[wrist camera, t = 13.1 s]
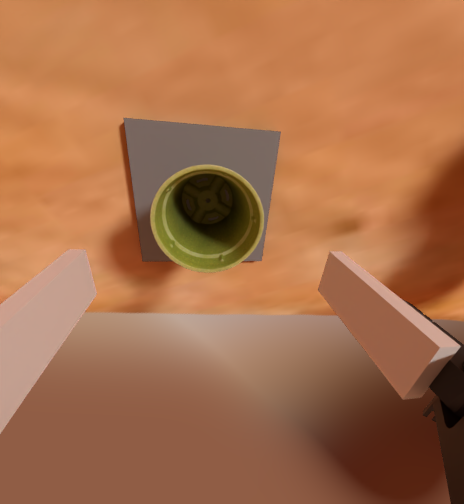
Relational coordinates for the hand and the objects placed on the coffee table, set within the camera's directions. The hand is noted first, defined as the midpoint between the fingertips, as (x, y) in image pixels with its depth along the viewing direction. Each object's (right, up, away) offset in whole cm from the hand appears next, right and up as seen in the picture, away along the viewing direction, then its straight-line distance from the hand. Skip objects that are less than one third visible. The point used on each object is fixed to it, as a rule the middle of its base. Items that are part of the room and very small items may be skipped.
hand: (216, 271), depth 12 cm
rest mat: (-2, +7, +15) cm, 17 cm away
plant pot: (-2, +7, +14) cm, 16 cm away
